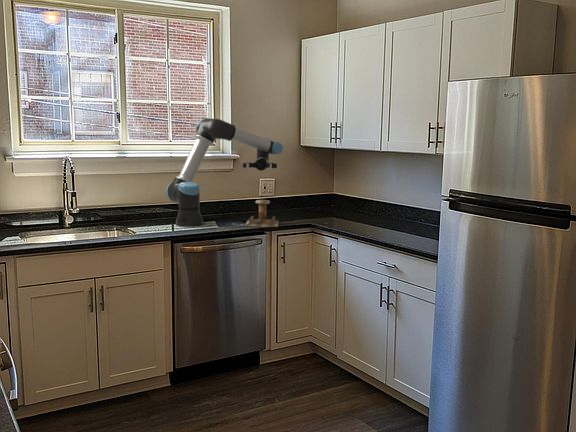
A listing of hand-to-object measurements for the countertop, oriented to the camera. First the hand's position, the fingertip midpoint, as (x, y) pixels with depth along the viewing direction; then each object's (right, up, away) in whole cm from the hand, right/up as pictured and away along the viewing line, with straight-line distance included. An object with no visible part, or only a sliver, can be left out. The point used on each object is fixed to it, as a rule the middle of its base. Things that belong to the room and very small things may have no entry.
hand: (258, 166), depth 347 cm
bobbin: (+2, -32, -7) cm, 33 cm away
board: (+2, -34, -7) cm, 34 cm away
